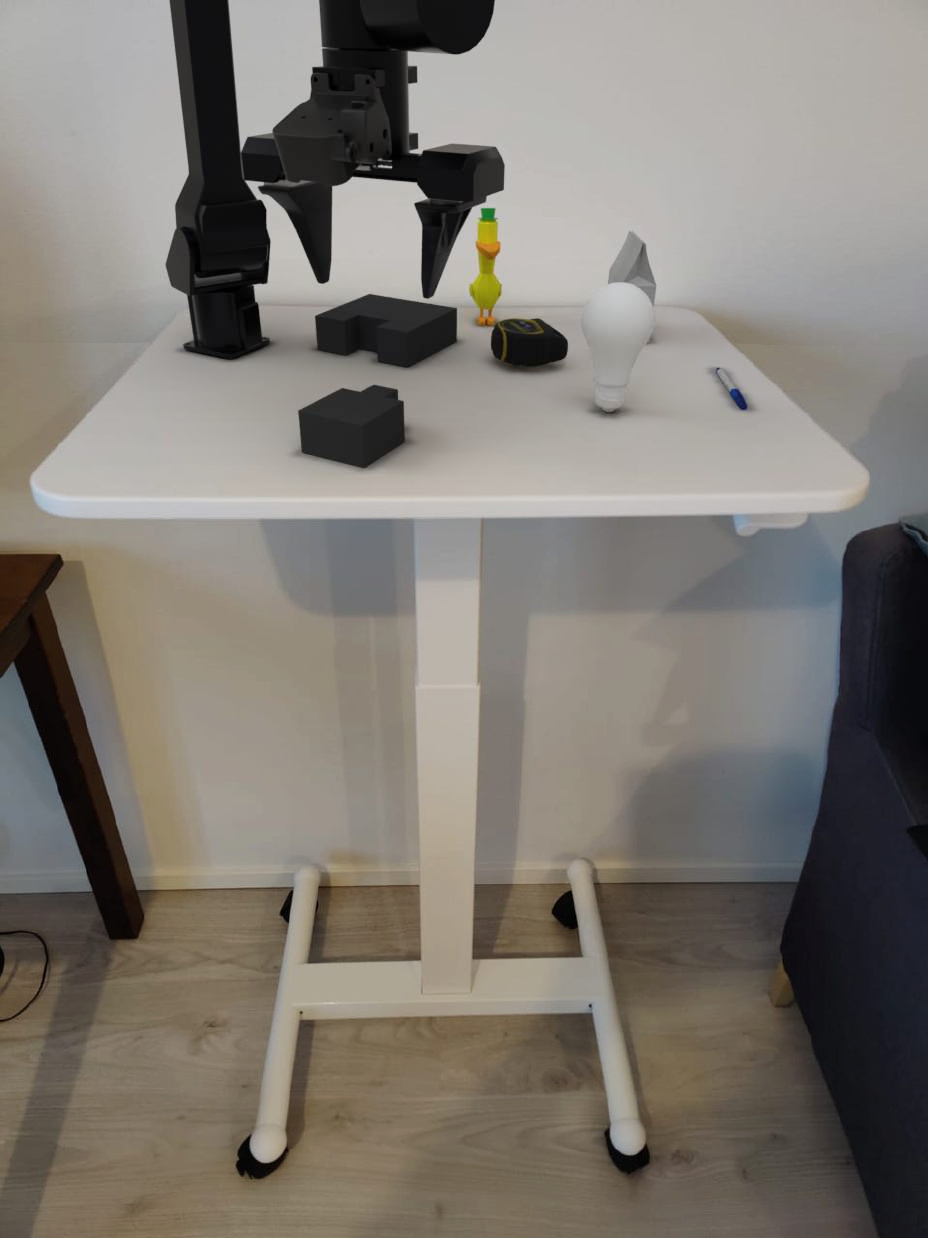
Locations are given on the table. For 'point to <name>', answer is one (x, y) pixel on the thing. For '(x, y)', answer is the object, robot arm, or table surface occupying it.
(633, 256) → the grey faceted shape
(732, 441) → the table surface
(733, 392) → the blue marker pen
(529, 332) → the tape measure
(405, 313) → the notch pad
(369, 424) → the pad
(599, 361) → the lightbulb
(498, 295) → the toy figure
